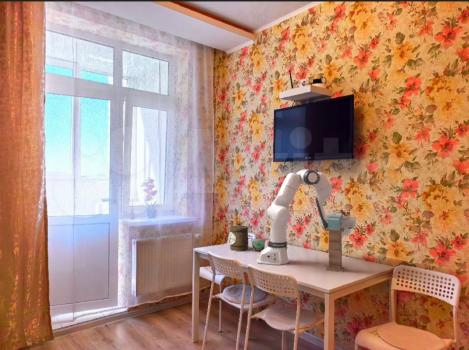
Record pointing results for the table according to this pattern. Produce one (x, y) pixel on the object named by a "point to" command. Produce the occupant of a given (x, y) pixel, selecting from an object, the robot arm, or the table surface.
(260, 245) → the food container
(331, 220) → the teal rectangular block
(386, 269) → the table surface
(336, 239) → the stand
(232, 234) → the wooden container
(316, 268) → the table surface
